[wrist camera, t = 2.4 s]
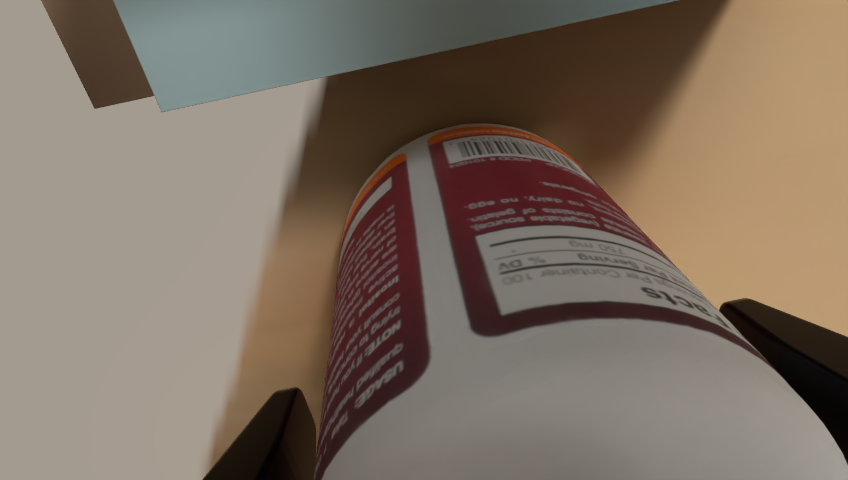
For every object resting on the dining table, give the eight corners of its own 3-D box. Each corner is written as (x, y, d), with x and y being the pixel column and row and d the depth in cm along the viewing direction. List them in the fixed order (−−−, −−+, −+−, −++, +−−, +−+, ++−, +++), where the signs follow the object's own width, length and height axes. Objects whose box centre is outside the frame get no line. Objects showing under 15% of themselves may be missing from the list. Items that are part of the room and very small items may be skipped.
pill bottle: (424, 374, 15) (497, 1129, 5) (290, 202, 12) (-37, 1091, 3) (631, 273, 14) (1194, 998, 4) (533, 59, 11) (1464, 714, 2)
